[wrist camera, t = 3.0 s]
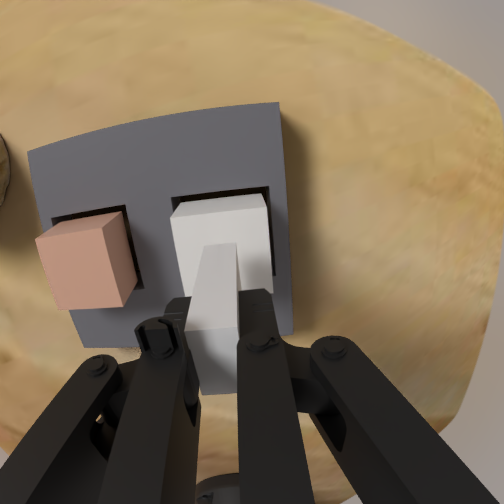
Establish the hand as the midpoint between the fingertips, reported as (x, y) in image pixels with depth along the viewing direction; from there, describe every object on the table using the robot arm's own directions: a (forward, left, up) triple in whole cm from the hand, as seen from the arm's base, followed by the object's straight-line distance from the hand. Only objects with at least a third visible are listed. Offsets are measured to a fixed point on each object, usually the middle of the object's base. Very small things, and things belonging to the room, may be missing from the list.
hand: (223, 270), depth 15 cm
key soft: (0, 0, -6) cm, 6 cm away
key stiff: (0, +9, -6) cm, 11 cm away
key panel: (0, +5, -8) cm, 9 cm away
